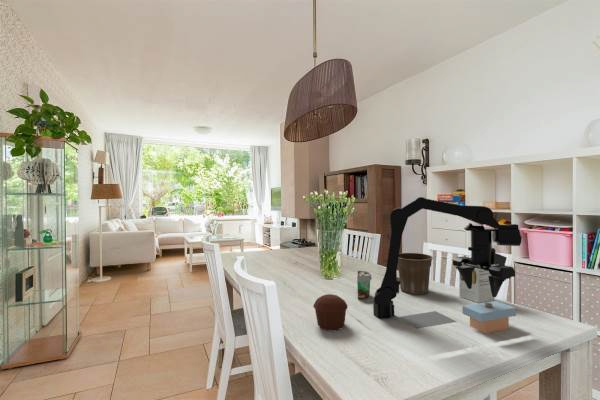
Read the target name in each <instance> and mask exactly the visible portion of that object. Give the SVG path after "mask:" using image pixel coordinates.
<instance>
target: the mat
mask: <svg viewBox="0 0 600 400" xmlns="http://www.w3.org/2000/svg"><path fill="white" fill-rule="evenodd" d="M398 318H399V319H400V320H402V321H403V322H405V323H406V324H407V323H408V324H409V325H411V326H412V327H414V328H415V329H423V328H428V327H434V326H440V325H445V324H451V323H452V324H453V323H457V320H455V319H453V318H450V317H449V316H446V315H444V314H442V313H440V312H437V311H436V310H435V311H434V310H433V311H428V312H422V313H415V314H408V315H402V316H398Z"/></svg>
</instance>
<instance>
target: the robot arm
mask: <svg viewBox="0 0 600 400" xmlns="http://www.w3.org/2000/svg"><path fill="white" fill-rule="evenodd" d="M421 210H428V211H433V212H437V213H442V214H447V215H453V216H458V217H460V218H463V219H465V220H468V221H471V222H469V223H468V225H466V226H464V230H465V231H466V232H467V231H468V232H470V244H471V245H470V246H468V248H467V250H468V251H469V252H470V256H456V257H453V259H452V266H454V267H455V269H456V270H457V271H458V272H459V273H460V274H461V276H462V278H463V279H464V281H465V283H466V285H467V287H468V289H471V288H472V272H473V271H474V269H475V268H479V269H483V270H487V271H489V273H490V274H491V276H488V277H489V282H490V288H491V293H492V296H493V297H494V298H496V297H497V296H498V294H499V292H500V289H501V287H502V285H503V283H504V282H505V281H506V280H508V279H509V280H510V279H511V278H513V277H514V278H515V277H516V270H515V268H514V267H513V266H510V265H506V262H507V257H506V256H505V255H502V254H499V253H496V249H495V247H494V248H493V245H492V242H494V243H496V244H497V246H506V247H507V246H509V247H520V246H521V244H522V238H523V237H522V235H521V231H520V228H519V224H516V223H510V224H500V223H499V221H497V220H496V218H495V217H494V213H493V210H492V209H491V208H490V207H488V206H482V205H466V204H465V205H463V204H461V205H460V204H455V203H451V202H450V203H449V202H444V201H440V200H435V199H430V198H425V197H422V196H421V197H420V196H419V197H417V198H416V199H414V200H413V201H411V202H410V203H408V204H407V205H405V206H403V207H396V208H394V209H393V210H392V211H391V212H390V214H389V215H390V233H391V234H390V239H389V240H390V241H389V248H388V254H387V260H386V267H385V272H384V275H383V278H382V281H381V284H380V287H379V288H377V290H375V294H374V296H373V300H372V301H373V302H372V305H373V306H372V309H373V316H374V317H375V318H377V319H385V320H386V319H391V318H392V317H394V316H395V305H394V301H393V300H394V299H395V298H396V296H397V295H398V294H399V293H400V281H401V278H400V277H399V276H397V272H398V271H397V270H398V258H399V254H400V250H401V245H402V243H401V242H402V236H403V234H404V231H405V227H406V225H407V222H408V218H410V217H412V216H413V215H414V214H416V213H418V212H420V211H421ZM472 222H473V223H477V224H479V225H473V224H472ZM484 226H488V227H490V228H485V227H484ZM470 257H471V258H470ZM478 265H479V266H478ZM492 265H494V266H492Z"/></svg>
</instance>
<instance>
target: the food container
mask: <svg viewBox="0 0 600 400" xmlns="http://www.w3.org/2000/svg"><path fill="white" fill-rule="evenodd" d="M356 279H357V300H368V299H369V298H370V293H371V292H370V291H371V280H372V279H373V278H372V274H371V273H370V272H368V271H367V270H357V277H356Z"/></svg>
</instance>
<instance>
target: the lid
mask: <svg viewBox="0 0 600 400" xmlns="http://www.w3.org/2000/svg"><path fill="white" fill-rule="evenodd" d="M461 307H462V309H461V311H462V314H463V315H465V316H467V317H469V318H470V317H471V318H474V319H476V320H478V321H480V322H483V321H489V320H495V319H500V318H506V317H509V318H510V317H511V318H512V317H515V316H517V310H516V307H514V306H511V305H508V304H505V303H503V302H501V301H497V300H493V301H487V302H482V303H474V304H473V303H471V304H467V305H465V304H464V305H462V306H461Z"/></svg>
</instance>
